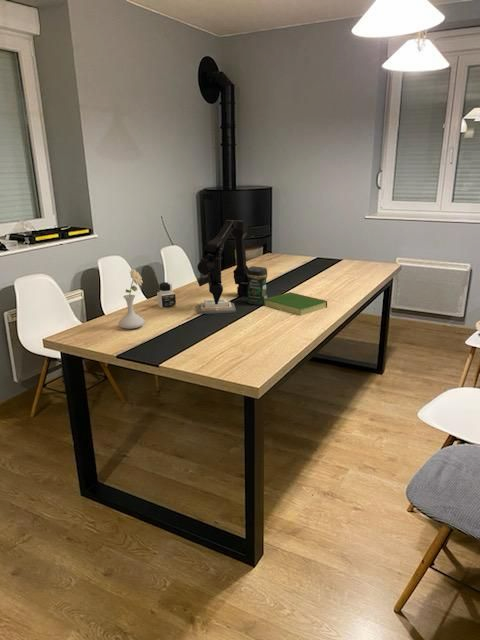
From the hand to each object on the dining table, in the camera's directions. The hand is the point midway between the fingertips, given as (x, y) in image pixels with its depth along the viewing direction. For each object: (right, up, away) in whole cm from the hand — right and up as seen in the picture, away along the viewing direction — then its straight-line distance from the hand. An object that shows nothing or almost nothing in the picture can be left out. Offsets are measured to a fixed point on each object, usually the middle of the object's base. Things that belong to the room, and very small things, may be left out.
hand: (215, 301), depth 233 cm
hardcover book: (+38, -3, +4) cm, 38 cm away
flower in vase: (-35, -12, -21) cm, 42 cm away
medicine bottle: (-25, -2, +7) cm, 26 cm away
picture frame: (0, -3, +1) cm, 3 cm away
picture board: (0, -4, +1) cm, 4 cm away
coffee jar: (+20, -1, +10) cm, 23 cm away
